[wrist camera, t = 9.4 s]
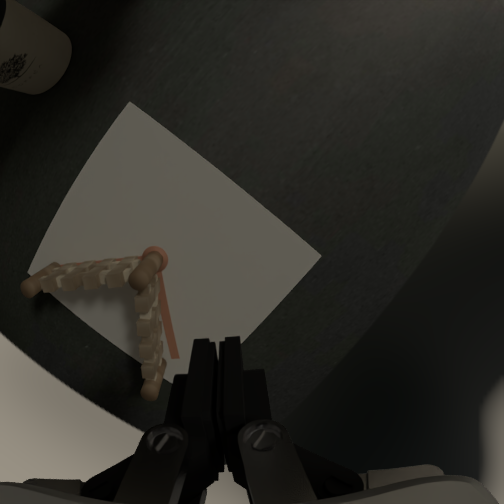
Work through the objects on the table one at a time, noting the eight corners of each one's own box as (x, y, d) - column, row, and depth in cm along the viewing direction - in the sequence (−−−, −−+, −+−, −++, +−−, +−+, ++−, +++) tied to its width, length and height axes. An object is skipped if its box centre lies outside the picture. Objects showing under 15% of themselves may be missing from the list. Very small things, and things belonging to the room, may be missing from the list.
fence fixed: (52, 277, 32) (23, 298, 26) (49, 262, 32) (18, 281, 25) (165, 266, 33) (150, 290, 26) (162, 249, 32) (146, 269, 26)
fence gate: (145, 271, 32) (129, 293, 26) (162, 272, 32) (148, 294, 26) (152, 368, 35) (141, 399, 29) (167, 369, 35) (158, 401, 30)
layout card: (28, 272, 32) (27, 272, 32) (130, 101, 28) (129, 101, 28) (190, 393, 37) (190, 395, 37) (321, 255, 33) (321, 256, 33)
